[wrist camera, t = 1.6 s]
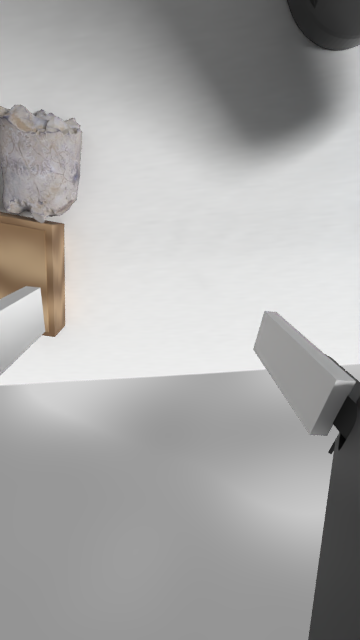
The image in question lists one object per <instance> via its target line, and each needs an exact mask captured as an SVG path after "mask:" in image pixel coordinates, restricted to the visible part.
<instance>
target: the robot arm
mask: <svg viewBox="0 0 360 640" xmlns="http://www.w3.org/2000/svg"><path fill="white" fill-rule="evenodd" d="M288 4H289V7H290V10H291V12H292V15H293V17H294V19H295V21H296V23H297V25H298V26H299V28H300V29H301V30H302V32H303V33H304V34H305V35H306V36H307V37H308V38H309V39H310V40H311V41H313V42H314V43H316V44H317V45H319V46H322V47H324V48H328V49H333V50H343V49H349V48H352V47H355V46H358V45H360V0H288ZM44 332H45V324H44V315H43V306H42V297H41V288H39V287H30V286H25V287H23V288H21V289H19V290H17V291H15V292H13V293H11V294H9V295H7V296H5V297H3V298H2V299H0V375H1V374H2V373H3V372H4V371H5V370H6V369H7V368H8V367H10V366H11V365H12V364H13V363H14V362H15V361H16V360H17V359H18V358H19V357H20V356H21V355H22V354H23V353H24V352H25V351H26V350H27V349H28V348H29V347H30V346H31V345H32V344H33V343H34V342H35V341H36V340H37V339H38V338H39V337H40V336H41V335H42V334H43V333H44ZM253 350H254V351H255V353H256V354H257V356H258V357H259V359H260V360H261V362H262V363H263V365H264V366H265V368H266V369H267V371H268V372H269V374H270V375H271V377H272V378H273V380H274V381H275V383H276V385H277V386H278V388H279V389H280V391H281V392H282V394H283V395H284V397H285V398H286V399H287V401H288V403H289V404H290V406H291V407H292V409H293V410H294V412H295V413H296V415H297V416H298V418H299V419H300V421H301V422H302V424H303V426H304V427H305V429H306V430H307V432H308V433H309V434H310V435H324V436H327V435H328V433H329V431H330V429H331V427H332V425H333V424H334V426H336V428H337V429H338V430H339V435H338V436H337V438H336V440H335V442H334V443H333V445H332V447H331V448H330V450H329V453H330V454H332V452H333V451H334V455H333V463H332V470H331V477H330V485H329V492H328V499H327V506H326V514H325V522H324V528H323V536H322V544H321V551H320V558H319V565H318V573H317V580H316V588H315V595H314V602H313V610H312V617H311V625H310V632H309V639H308V640H360V382H359V381H358V380H357V379H355V378H354V377H353V376H352V375H351V374H349V373H348V372H347V371H345V369H344V368H343V367H341V366H339V364H338V363H337V362H336V361H334V360H333V359H332V358H331V357H329V356H327V355H325V354H324V353H323V352H322V351H320V350H319V349H318V348H317V347H316V346H315V345H314V344H312V343H311V342H310V341H309V340H308V339H307V338H306V337H304V336H303V335H302V334H301V333H300V332H299V331H297V330H296V329H295V328H294V327H293V326H292V325H291V324H289V323H288V322H287V321H286V320H285V319H284V318H283V317H281V316H280V315H279V314H278V313H277V312H270V311H265V312H264V315H263V318H262V322H261V325H260V328H259V332H258V335H257V338H256V342H255V345H254V349H253Z"/></svg>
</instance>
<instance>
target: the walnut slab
mask: <svg viewBox="0 0 360 640" xmlns="http://www.w3.org/2000/svg"><path fill="white" fill-rule="evenodd" d="M25 286H30V287H39V288H41V297H42V306H43V315H44V324H45V332H44V333H43V334H42V335H45V336H52V337H55V336H56V335H57V334H58V333H59V332H60V331H61V329H62V328H63V327H64V326H65V270H64V224H62V223H57V222H51V221H46V220H45V222H44V223H40V222H38V221H37V220H35V219H34V218H30V217H25V216H19V215H14V214H9V213H3V212H0V299H2V298H3V297H5V296H7V295H9V294H11V293H13V292H15V291H17V290H19V289H21V288H23V287H25Z"/></svg>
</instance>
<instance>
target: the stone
mask: <svg viewBox="0 0 360 640" xmlns="http://www.w3.org/2000/svg"><path fill="white" fill-rule="evenodd" d="M81 145H82V131H81V130H80V125H79V124H78V123H76V120H75V118H71V119H69V120H67V121H63V120H61V119H60V118H59V117H56V116H54V115H53V114H52V113H49V114H47V115H46V114H45V112H44V110H42V109H41V111H39V112H37V113H36V116H35V115H33V114H32V113H31V112H29V111H28V110H27V109H26V108H25V107H24V106H22V105H14V106H13V107H12V108H11V109H6V108H3V107H1V106H0V163H1V167H2V172H3V181H4V192H3V204H4V208H5V210H6V211H8V212H10V213H16V214H19V213H20V212H22V211H25V210H26V211H30V212H31V214H32V216H33V218H34V219H35V220H37V221H38V222H40V223H44V222H45V219H46V217H48V216H60V215H62V214H63V213H65V212H66V211H67V210H69V208H70V207H71V205H72V204H73V203H74V202H75V201H76V200H77V190H78V183H79V178H80V159H81Z"/></svg>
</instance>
